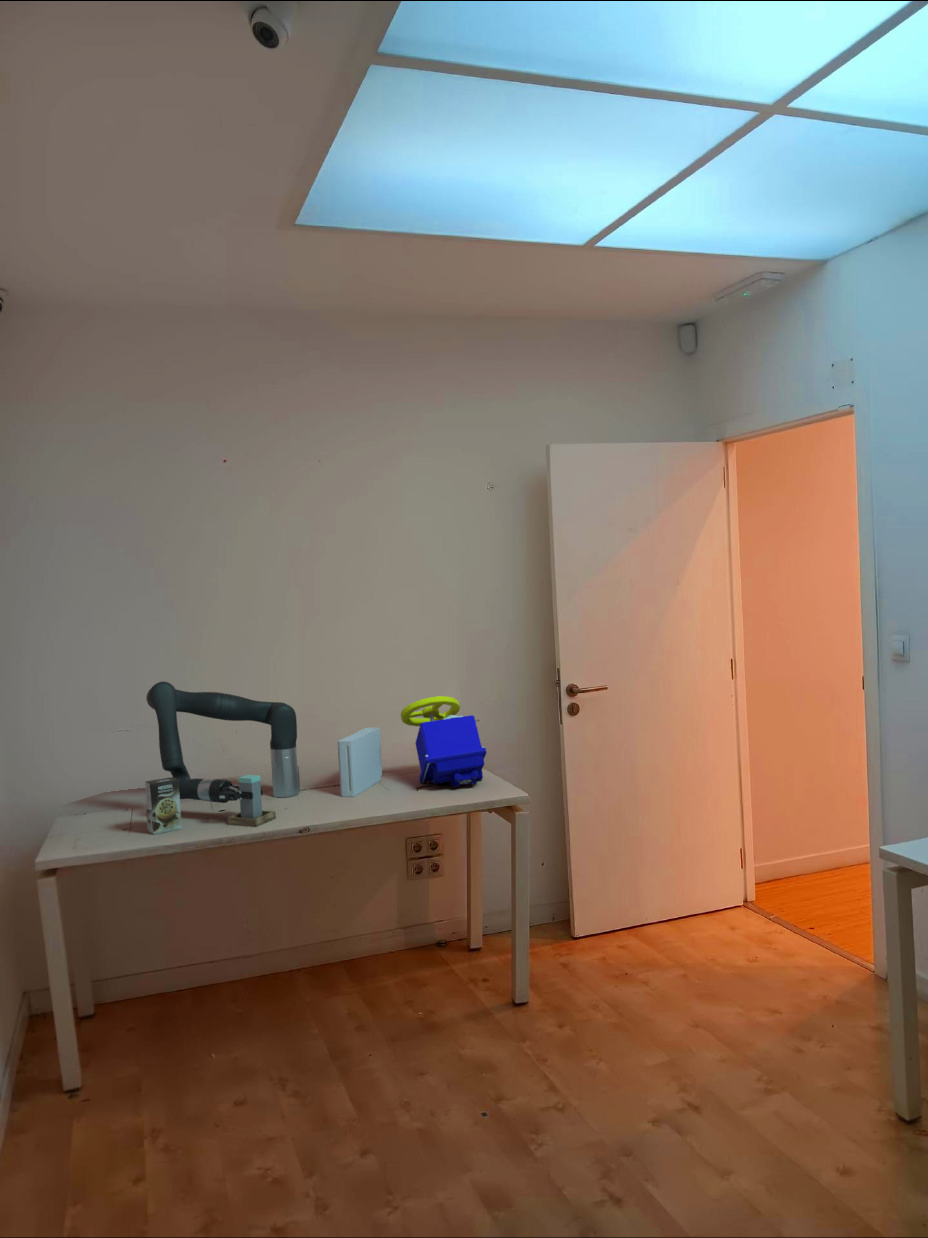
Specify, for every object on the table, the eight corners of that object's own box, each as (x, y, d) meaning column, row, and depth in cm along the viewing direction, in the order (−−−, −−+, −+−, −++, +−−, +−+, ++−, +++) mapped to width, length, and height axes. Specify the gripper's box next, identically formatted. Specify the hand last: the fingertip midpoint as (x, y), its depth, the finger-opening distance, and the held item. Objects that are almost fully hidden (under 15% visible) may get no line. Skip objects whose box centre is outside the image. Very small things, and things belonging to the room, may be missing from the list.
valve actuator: (493, 767, 328) (474, 690, 341) (418, 780, 322) (402, 700, 335) (482, 791, 350) (464, 717, 363) (412, 803, 344) (397, 727, 358)
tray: (248, 816, 311) (248, 809, 311) (275, 818, 307) (275, 811, 307) (228, 824, 302) (227, 817, 302) (255, 827, 297) (255, 820, 297)
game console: (338, 796, 333) (335, 741, 332) (368, 779, 359) (365, 727, 358) (353, 797, 331) (350, 741, 330) (382, 779, 357) (379, 727, 356)
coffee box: (153, 835, 294) (150, 784, 293) (147, 831, 299) (143, 781, 298) (182, 829, 299) (179, 779, 298) (175, 825, 304) (172, 776, 304)
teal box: (249, 814, 307) (247, 774, 307) (262, 815, 305) (260, 775, 305) (240, 817, 303) (238, 777, 303) (253, 818, 301) (251, 778, 300)
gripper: (199, 784, 303) (242, 787, 296) (228, 774, 316) (270, 777, 309) (201, 807, 304) (244, 811, 296) (229, 796, 317) (271, 800, 309)
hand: (257, 794), depth 303 cm, fingers closed on teal box, 4 cm apart
